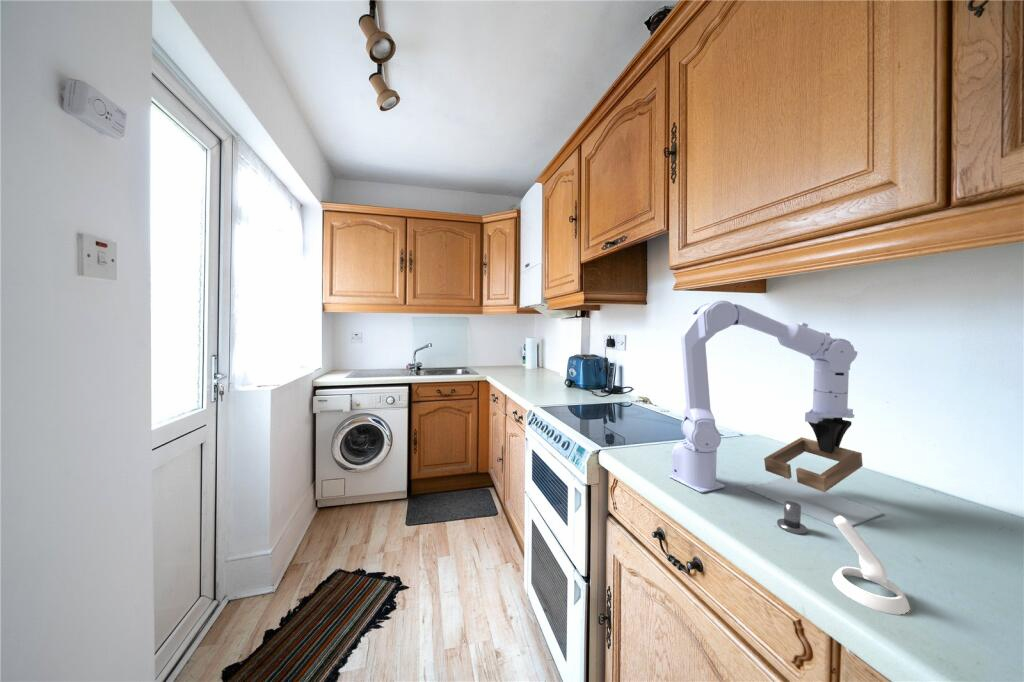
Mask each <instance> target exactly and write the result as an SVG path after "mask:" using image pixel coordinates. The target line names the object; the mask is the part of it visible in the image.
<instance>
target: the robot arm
mask: <svg viewBox="0 0 1024 682" xmlns="http://www.w3.org/2000/svg"><path fill="white" fill-rule="evenodd" d="M740 325H741V326H744V327H747V328H750V329H753V330H754V331H759V332H761V333H763V334H767V335H770V336H773V337H775V338H777V340H778V343H779V345H781V346H783V347H785V348H787V349H791V350H793V351H795V352H798V353H799V354H802V355H805V356H807V357H809V358H810V360H812V361H813V388H812V389H813V391H812V393H813V394H812V408H811V409H810V410H809V411H807V412H804V414H805V415H804V422H806V423H808V424H809V425H810V427H811V428H812V429H811V430H813V434H814V436H815V438H816V441H817V442H818V446H819V449H820V451H823V452H827V453H833V451H834V447H835V446H837V447H841V446H840V445H841V442H842V441H843V437H844V436H845V434H846V433H847V431H848V429H849V428H851V426H852V421H851V420H847V419H854V418H855V414H854V409H853V408H849V407H848V404H849V403H848V402H849V401H848V400H849V398H848V397H849V375H850V373H849V372H850V370H851V365H852V363H853V362H854V361H855V360H856V358H857V356H858V351H856V350H855V347H854V346H853V344H851V341H850V340H847V339H845V338H840V337H839V338H838V337H837V338H836V337H835V338H833V337H832V336H831V334H830V333H829V332H826V331H822V332H820V331H818V330H815V329H813V328H810V327H808V326H809V323H805V322H792V323H789V324H784V323H783V322H779V321H778V320H775V319H773V318H771V317H769V316H766V315H763V314H762V313H759V312H757V311H754V310H752V309H750V308H748V307H745V306H743V305H742V304H738V303H732V302H730V301H728V300H718V301H714V302H711V303H709V302H708V303H704V304H702V305H700V306H699V307H698V308H697V309H695V310H694V311H693V312H692V313H691V316H690V319H689V320H688V322H687V324H686V325H685V327H684V329H683V331H682V333H681V336H680V340H681V353H682V367H683V379H684V381H683V382H684V395H685V403H686V404H685V405H686V407H685V409H684V411H683V420H682V422H681V423H680V430H681V433H682V435H684V437H685V438H684V439H683V440H681V441H678V442H676V443H675V444H674V446H673V448H672V451H671V474H669V475H668V476H669V478H671V479H672V480H675V481H677V482H678V483H681V484H683V485H685V486H687V487H688V488H691V489H692V490H695V491H697V492H699V493H706V492H711V491H715V490H719V489H723V488H725V487H726V486H725V484H723V483H721V482H719V481H717V460H718V459H717V454H718V452H717V449H718V448H719V446H720V445H721V441H722V436H721V433H720V431H719V430H718V429H717V426H716V420H715V417H714V414H713V412H712V409H711V401H710V400H711V399H710V397H711V396H710V387H709V385H710V384H709V375H708V374H709V373H708V360H707V359H708V358H707V349H706V348H707V347H706V345H707V344H706V343H707V342H708V341H709V340H711V339H712V338H713V337H714V336H715V335H716V334H717V333H719V332H721V331H724V330H726V329H728V328H729V327H731V326H740ZM843 418H845V419H843ZM846 418H847V419H846Z"/></svg>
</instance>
